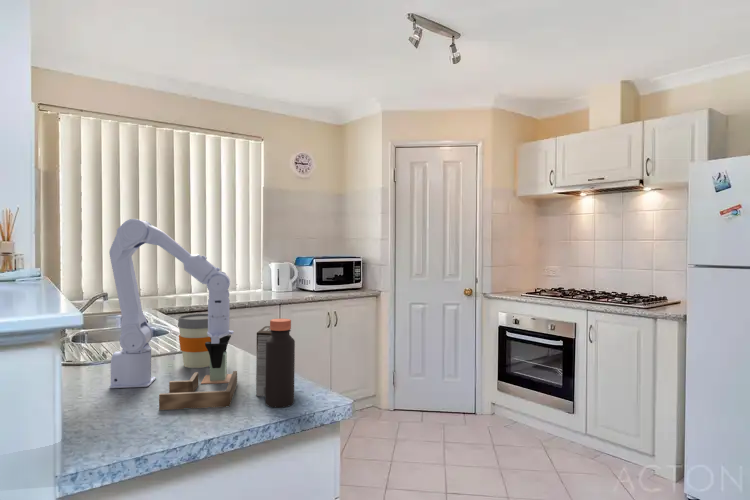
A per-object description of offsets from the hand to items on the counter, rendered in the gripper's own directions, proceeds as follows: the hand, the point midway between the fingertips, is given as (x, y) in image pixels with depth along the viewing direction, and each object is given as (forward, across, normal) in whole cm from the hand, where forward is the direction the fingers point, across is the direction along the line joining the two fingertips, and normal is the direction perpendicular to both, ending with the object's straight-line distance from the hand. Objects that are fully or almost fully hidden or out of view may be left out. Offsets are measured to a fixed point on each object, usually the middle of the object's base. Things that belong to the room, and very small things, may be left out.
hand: (218, 364), depth 135 cm
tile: (+4, 0, 0) cm, 4 cm away
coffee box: (+4, -13, -15) cm, 20 cm away
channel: (+4, -14, +2) cm, 15 cm away
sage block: (+4, 0, 0) cm, 4 cm away
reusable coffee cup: (+4, +18, +8) cm, 20 cm away
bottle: (+4, -23, -17) cm, 29 cm away
